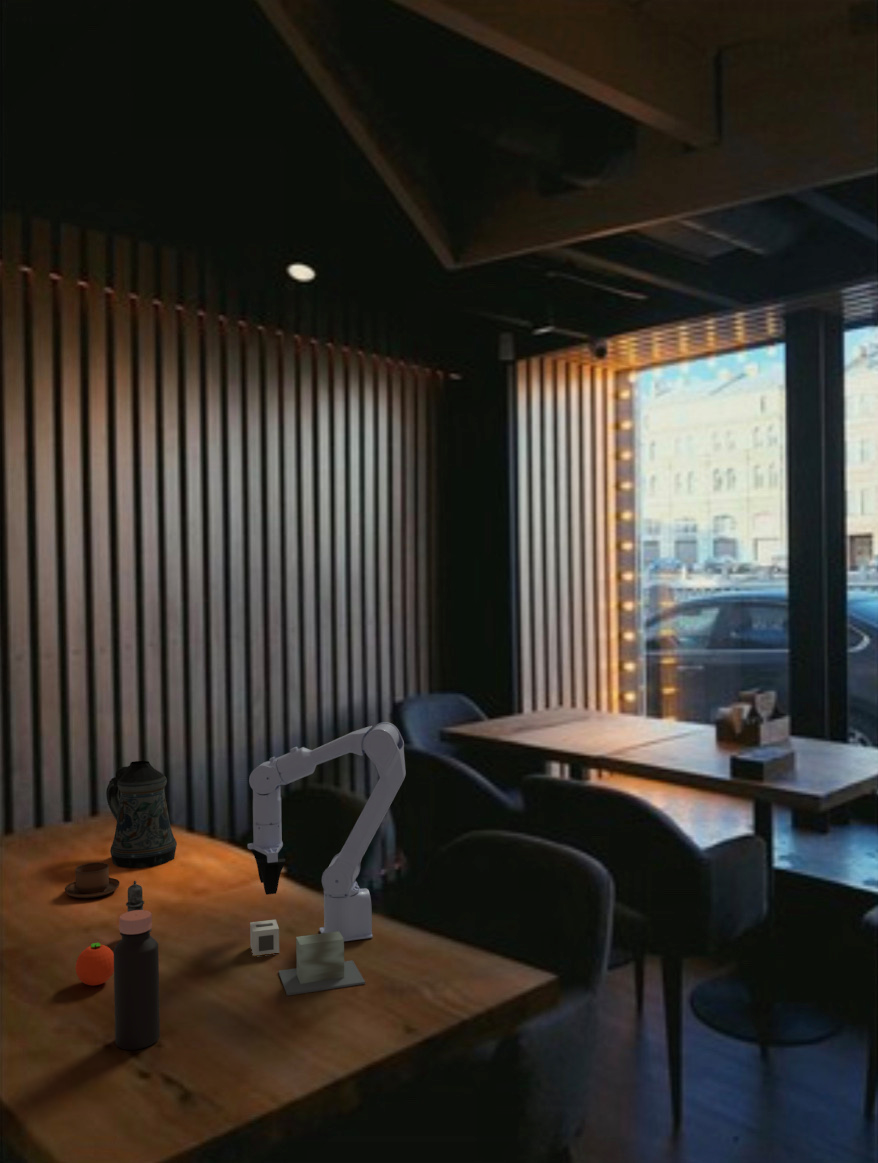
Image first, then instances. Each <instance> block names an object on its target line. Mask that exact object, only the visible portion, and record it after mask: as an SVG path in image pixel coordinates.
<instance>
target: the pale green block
mask: <svg viewBox="0 0 878 1163" xmlns="http://www.w3.org/2000/svg"><path fill="white" fill-rule="evenodd" d="M295 940H296V941H295V942H296V947H295V952H296V953H295V954H296V955H295V956H296V968H297V977H298V979H299V982H300V984H303V983H310V982H317V981H324V980H331V979H337V978H344V961H345V941H344V939H343V937H342V935H341V933H340V932H339V931H337V932H329V933H322V934H321V933H317V934H309V935H301V936H295Z"/></svg>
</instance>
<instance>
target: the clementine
mask: <svg viewBox="0 0 878 1163" xmlns="http://www.w3.org/2000/svg"><path fill="white" fill-rule="evenodd" d="M75 974H76V976H77V977H78V980H80V981H81V982H82V984H85V985H86V986H87V985H88V986H92V987H93V986H94V987H95V986H99V985H102V984H104V983H106V982H107V981H108V980H110V979H111V977H112V976H113V975H114V950H112V949H111V948H110V947H109V946H107V945H105V944H101V943H100V942H95V943H93V942H92V943H91V945H90V946H87V947H86V948H85V949H83V950H82V951H81V953H80V954H79V955H78V957H77V959H76V962H75Z"/></svg>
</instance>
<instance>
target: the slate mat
mask: <svg viewBox="0 0 878 1163" xmlns="http://www.w3.org/2000/svg"><path fill="white" fill-rule="evenodd" d="M278 975H279V978H280V980H281V983H282V985H283V988H284V991H285V993H286V996H293V995H300V994H308V993H312V992H320V991H329V990H335V989H339V988H347V987H354V986H355V987H356V986H361V985H365V984H366V981H365V979H364V978H363V975H362V973H361V972H360V970H359V968H358V967H357V965H356V963H355V962H354V960H344V978H337V979H331V980H324V981H317V982H310V983H303V984H300V982H299V979H298V977H297V967H296V968H287V969H280V970H278Z"/></svg>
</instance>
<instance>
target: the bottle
mask: <svg viewBox="0 0 878 1163" xmlns="http://www.w3.org/2000/svg"><path fill="white" fill-rule="evenodd" d="M118 917H119V919H118V921H119V922H118V925H119V934H120V937H121V939H120V941H119V942H118V943H117V944H116V945H115V947H114V949H113V953H114V973H113V989H114V991H113V992H114V994H113V995H114V1043H115V1044H116V1046H117V1047H118V1048H120V1049H123V1050H126V1051H135V1050H141V1049H145V1048H148V1047H150V1046H152V1045H154V1044H155V1043H157V1041H158V1040H159V1038H160V1032H161V1030H160V1026H161V1025H160V1021H161V1020H160V1016H161V1015H160V968H159V966H160V965H159V963H160V962H159V960H160V959H159V955H160V954H159V943H158V941H157V940H156V939H155V938H154V937H153V936H152V935H151V932H152V927H153V919H152V918H153V913H152V912H151V911H149V910H146V909H145V910H144V909H143V910H134V911H129V912H128V911H126V912H124V913H122V914H121V915H120V916H118Z"/></svg>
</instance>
